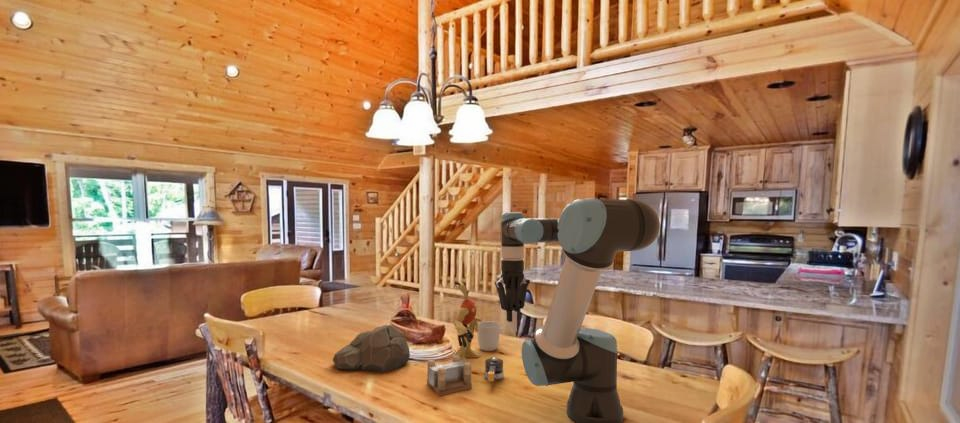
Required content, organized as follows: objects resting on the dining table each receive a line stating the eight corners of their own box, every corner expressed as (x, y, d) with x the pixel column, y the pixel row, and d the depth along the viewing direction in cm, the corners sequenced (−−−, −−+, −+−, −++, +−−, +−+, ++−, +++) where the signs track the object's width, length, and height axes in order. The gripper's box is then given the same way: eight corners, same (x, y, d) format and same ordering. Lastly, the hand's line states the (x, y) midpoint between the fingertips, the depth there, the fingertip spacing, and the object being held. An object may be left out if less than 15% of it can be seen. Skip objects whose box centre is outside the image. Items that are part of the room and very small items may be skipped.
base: (507, 378, 141) (507, 372, 141) (491, 382, 137) (491, 376, 137) (496, 371, 146) (496, 366, 146) (481, 375, 143) (481, 369, 143)
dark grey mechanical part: (486, 366, 145) (486, 354, 145) (503, 367, 144) (503, 355, 144) (481, 381, 132) (481, 368, 132) (500, 382, 131) (500, 369, 131)
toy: (470, 376, 142) (471, 288, 142) (446, 374, 144) (446, 287, 144) (483, 353, 165) (484, 277, 165) (462, 351, 167) (463, 276, 167)
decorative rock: (325, 370, 146) (327, 327, 147) (354, 354, 167) (355, 316, 168) (397, 376, 141) (399, 331, 142) (418, 359, 163) (419, 319, 164)
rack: (472, 388, 133) (472, 364, 133) (439, 396, 127) (439, 371, 127) (457, 376, 142) (457, 354, 141) (426, 383, 136) (426, 360, 136)
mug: (496, 353, 165) (496, 328, 165) (474, 351, 168) (474, 326, 168) (503, 343, 177) (503, 320, 177) (483, 341, 180) (483, 318, 180)
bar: (468, 379, 136) (468, 364, 135) (434, 387, 130) (434, 371, 130) (462, 375, 139) (462, 360, 139) (428, 382, 133) (429, 366, 133)
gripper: (521, 257, 145) (521, 326, 144) (489, 259, 138) (489, 331, 137) (535, 259, 138) (535, 331, 138) (502, 261, 131) (502, 336, 131)
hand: (512, 331), depth 137 cm, fingers closed
